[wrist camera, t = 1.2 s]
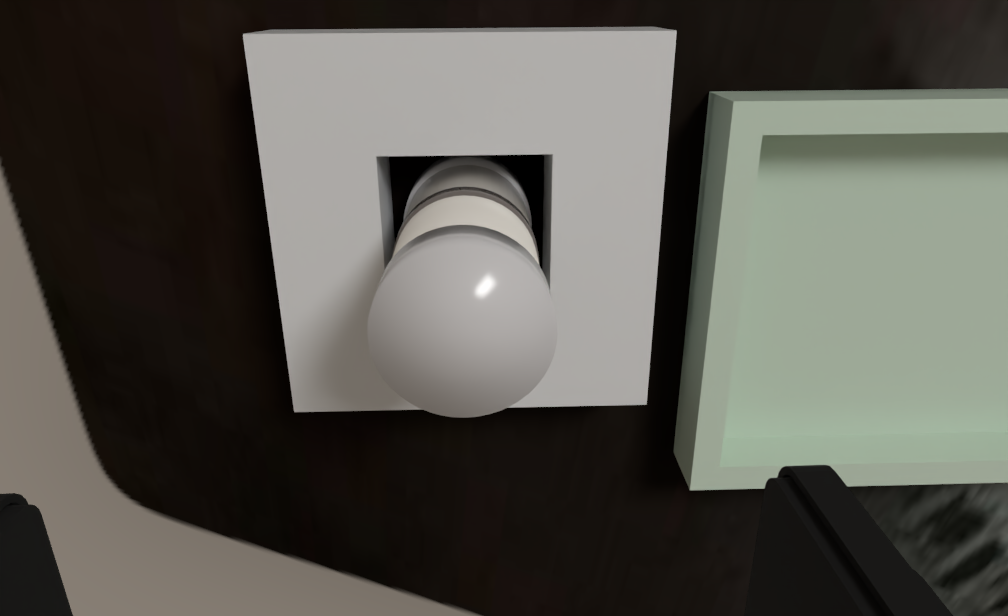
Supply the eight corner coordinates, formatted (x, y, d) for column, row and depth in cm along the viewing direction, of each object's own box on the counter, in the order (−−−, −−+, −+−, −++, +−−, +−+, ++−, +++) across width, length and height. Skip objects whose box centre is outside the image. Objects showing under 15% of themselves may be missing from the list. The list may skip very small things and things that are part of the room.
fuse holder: (653, 26, 23) (676, 30, 20) (630, 364, 28) (646, 404, 25) (271, 29, 23) (242, 33, 20) (312, 370, 28) (294, 412, 25)
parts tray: (1184, 86, 24) (1257, 96, 22) (1062, 442, 30) (1111, 479, 28) (709, 91, 24) (733, 101, 22) (673, 452, 29) (689, 490, 27)
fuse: (529, 151, 25) (560, 243, 15) (528, 269, 26) (555, 415, 17) (403, 153, 25) (359, 246, 15) (410, 271, 26) (374, 419, 17)
